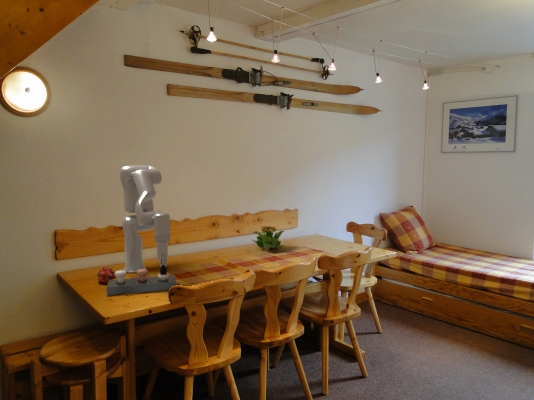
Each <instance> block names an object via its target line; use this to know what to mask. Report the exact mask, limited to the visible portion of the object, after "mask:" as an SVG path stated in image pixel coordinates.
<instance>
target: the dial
mask: <svg viewBox="0 0 534 400" xmlns="http://www.w3.org/2000/svg"><path fill="white" fill-rule="evenodd" d="M148 273H149V272H148V269H147V268H146V269H138V270H137V272H136V276H138V278H139V282H146V277H147V276H146V275H148Z"/></svg>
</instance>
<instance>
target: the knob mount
mask: <svg viewBox="0 0 534 400" xmlns="http://www.w3.org/2000/svg"><path fill="white" fill-rule="evenodd" d="M175 285H177V277H176V274H171V275H170V274H168V279H166V280H164V281H160V279H158V275H157V276H146V282H139V277H133V278H132V277H131V278H124V284H118V278H115V279H113V280H109V281H108V284H107V285H106V297H108V296H119V295H131V294H141V293H142V294H144V293H145V294H146V293H154V292H157V293H158V292H167V291H169V292H170V290H169V289H170V288H171V287H172V286H175Z"/></svg>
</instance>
